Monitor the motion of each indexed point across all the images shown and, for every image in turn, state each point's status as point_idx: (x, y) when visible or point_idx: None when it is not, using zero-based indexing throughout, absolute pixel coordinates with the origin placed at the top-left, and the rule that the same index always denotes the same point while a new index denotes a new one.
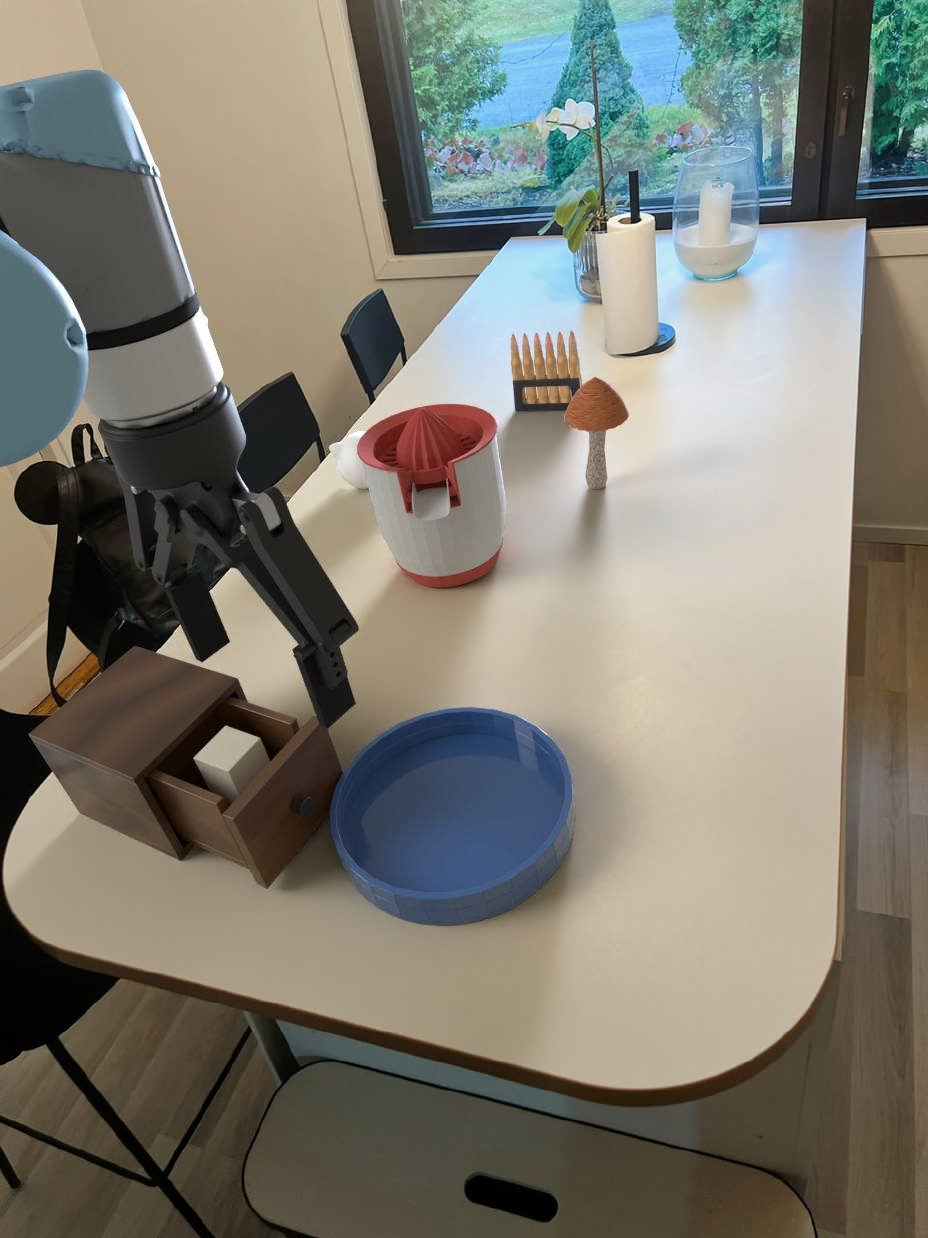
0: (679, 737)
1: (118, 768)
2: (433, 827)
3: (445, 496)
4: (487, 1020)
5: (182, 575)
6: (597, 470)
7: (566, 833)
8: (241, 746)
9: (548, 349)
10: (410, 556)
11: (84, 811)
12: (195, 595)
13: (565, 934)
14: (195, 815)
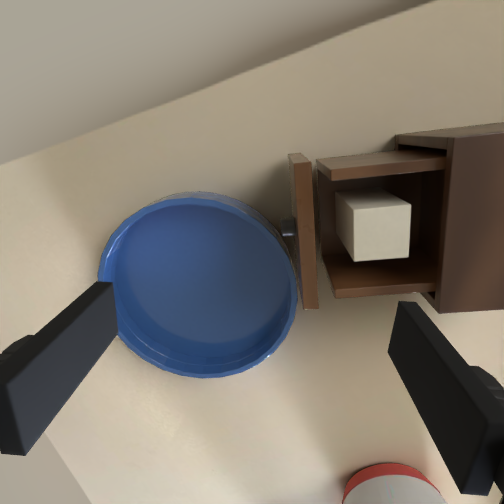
0: (117, 400)
1: (489, 138)
2: (209, 268)
3: None
4: (74, 162)
5: (501, 473)
6: None
7: None
8: (365, 243)
9: None
10: (403, 495)
11: None
12: (447, 424)
13: (77, 241)
14: (374, 159)
